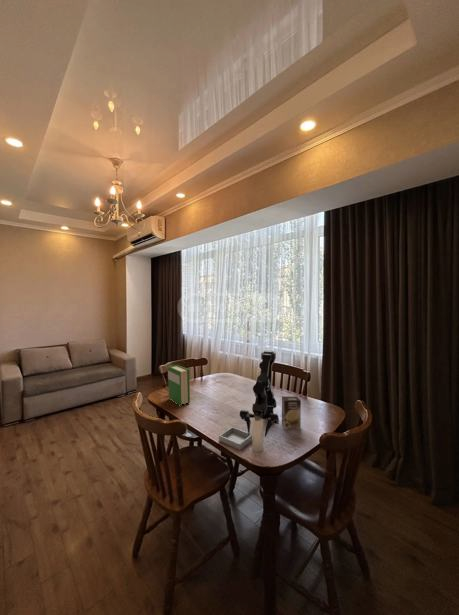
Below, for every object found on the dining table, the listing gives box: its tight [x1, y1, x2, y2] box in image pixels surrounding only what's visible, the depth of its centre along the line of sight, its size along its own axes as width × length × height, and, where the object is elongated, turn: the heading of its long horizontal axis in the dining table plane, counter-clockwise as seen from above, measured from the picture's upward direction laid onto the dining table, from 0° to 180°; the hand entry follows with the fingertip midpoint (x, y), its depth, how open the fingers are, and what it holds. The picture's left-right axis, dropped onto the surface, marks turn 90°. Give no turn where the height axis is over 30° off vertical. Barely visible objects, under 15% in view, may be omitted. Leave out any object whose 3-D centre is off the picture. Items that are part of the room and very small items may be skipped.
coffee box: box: [281, 395, 302, 430], centre depth 138 cm, size 9×6×16 cm
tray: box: [218, 426, 252, 452], centre depth 126 cm, size 11×13×3 cm
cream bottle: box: [251, 415, 264, 453], centre depth 119 cm, size 5×5×16 cm
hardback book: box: [167, 364, 191, 407], centre depth 176 cm, size 18×7×24 cm, turn 39°
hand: (256, 435), depth 118 cm, fingers open, 8 cm apart
